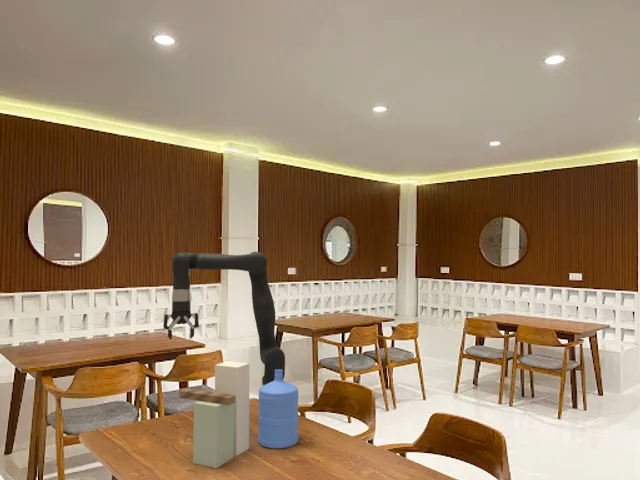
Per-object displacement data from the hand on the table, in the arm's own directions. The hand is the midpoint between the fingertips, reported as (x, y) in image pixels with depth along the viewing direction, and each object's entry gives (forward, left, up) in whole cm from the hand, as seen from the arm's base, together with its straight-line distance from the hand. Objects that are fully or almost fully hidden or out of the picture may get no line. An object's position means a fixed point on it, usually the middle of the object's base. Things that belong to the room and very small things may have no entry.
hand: (181, 338), depth 215 cm
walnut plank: (-4, +36, -17) cm, 40 cm away
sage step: (-6, +38, -38) cm, 54 cm away
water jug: (-33, +30, -38) cm, 59 cm away
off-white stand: (-14, +31, -38) cm, 51 cm away
